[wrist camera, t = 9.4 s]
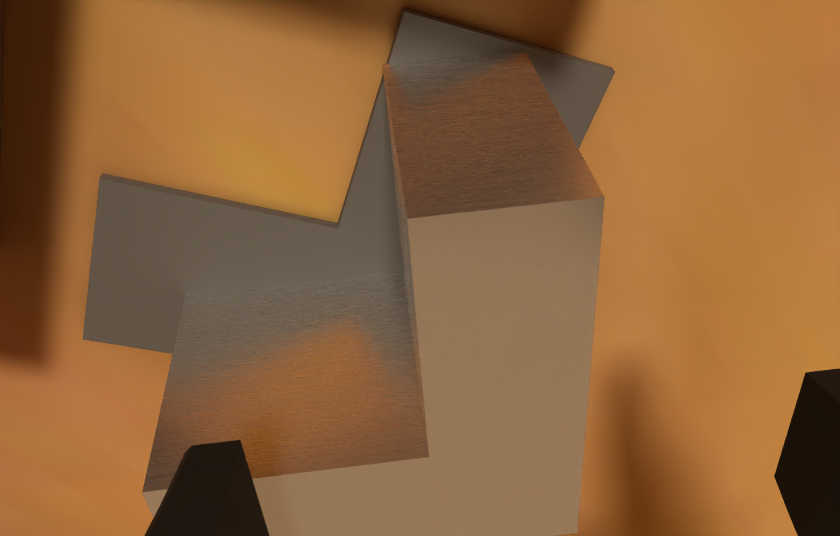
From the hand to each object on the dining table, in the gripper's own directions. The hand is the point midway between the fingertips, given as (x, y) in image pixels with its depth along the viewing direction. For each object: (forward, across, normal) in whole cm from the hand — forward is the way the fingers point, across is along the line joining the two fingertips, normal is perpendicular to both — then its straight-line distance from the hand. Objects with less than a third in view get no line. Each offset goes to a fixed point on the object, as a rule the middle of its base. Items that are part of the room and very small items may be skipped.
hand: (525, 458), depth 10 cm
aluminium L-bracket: (+7, +2, +1) cm, 7 cm away
